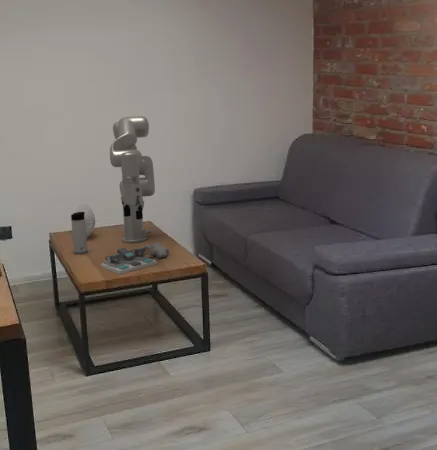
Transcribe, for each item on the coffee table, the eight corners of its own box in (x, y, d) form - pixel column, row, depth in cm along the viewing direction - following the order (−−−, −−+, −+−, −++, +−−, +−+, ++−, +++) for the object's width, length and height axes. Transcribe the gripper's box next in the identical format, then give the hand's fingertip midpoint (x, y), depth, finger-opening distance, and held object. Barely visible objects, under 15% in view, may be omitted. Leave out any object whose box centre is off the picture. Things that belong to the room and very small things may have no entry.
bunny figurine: (153, 252, 316) (141, 241, 329) (153, 262, 318) (142, 251, 331) (172, 249, 320) (160, 238, 333) (172, 259, 322) (160, 248, 335)
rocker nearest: (137, 252, 320) (136, 248, 320) (146, 251, 314) (145, 247, 313) (129, 254, 317) (129, 250, 317) (139, 253, 311) (138, 249, 311)
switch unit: (138, 257, 323) (137, 246, 321) (157, 263, 312) (156, 252, 310) (101, 267, 310) (100, 255, 309) (119, 274, 299) (118, 262, 298)
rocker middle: (124, 250, 315) (124, 247, 315) (134, 258, 310) (134, 255, 309) (117, 252, 313) (117, 249, 312) (127, 260, 308) (127, 257, 307)
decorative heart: (74, 233, 370) (71, 202, 365) (94, 231, 372) (92, 200, 368) (77, 242, 353) (74, 209, 349) (98, 240, 355) (95, 207, 351)
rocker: (113, 258, 311) (112, 254, 311) (122, 257, 305) (121, 253, 305) (105, 260, 309) (104, 256, 309) (114, 259, 303) (114, 255, 303)
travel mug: (85, 254, 330) (81, 213, 326) (72, 254, 332) (68, 213, 327) (90, 250, 336) (86, 210, 332) (77, 250, 338) (73, 210, 333)
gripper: (149, 180, 304) (151, 218, 307) (127, 177, 317) (129, 213, 320) (134, 182, 299) (137, 221, 303) (113, 179, 312) (116, 216, 316)
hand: (133, 217), depth 311 cm, fingers open, 9 cm apart
